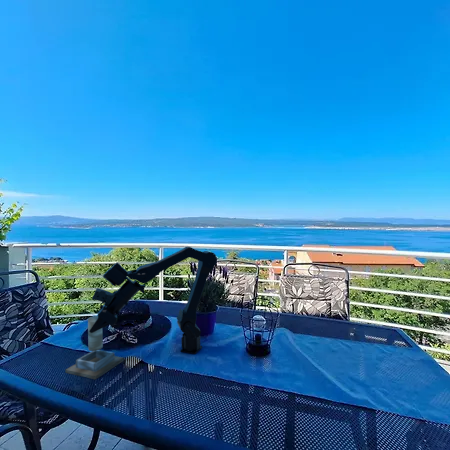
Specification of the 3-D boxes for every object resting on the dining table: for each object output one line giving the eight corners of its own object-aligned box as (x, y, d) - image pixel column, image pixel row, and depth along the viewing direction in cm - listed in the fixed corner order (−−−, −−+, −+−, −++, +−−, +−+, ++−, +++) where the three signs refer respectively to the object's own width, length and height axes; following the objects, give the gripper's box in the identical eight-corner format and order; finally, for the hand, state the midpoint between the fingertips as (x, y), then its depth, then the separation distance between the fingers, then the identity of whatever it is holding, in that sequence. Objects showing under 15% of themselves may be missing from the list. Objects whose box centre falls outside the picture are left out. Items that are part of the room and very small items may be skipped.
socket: (123, 360, 99) (123, 350, 99) (95, 379, 87) (95, 368, 87) (96, 355, 104) (95, 346, 104) (65, 372, 91) (65, 362, 91)
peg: (104, 344, 98) (104, 315, 98) (99, 350, 93) (99, 319, 93) (91, 345, 97) (91, 316, 97) (86, 351, 93) (85, 320, 93)
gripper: (108, 275, 106) (76, 307, 102) (105, 285, 88) (66, 324, 84) (130, 294, 108) (100, 326, 104) (131, 306, 91) (95, 345, 87)
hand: (91, 329), depth 95 cm, fingers closed on peg, 4 cm apart
